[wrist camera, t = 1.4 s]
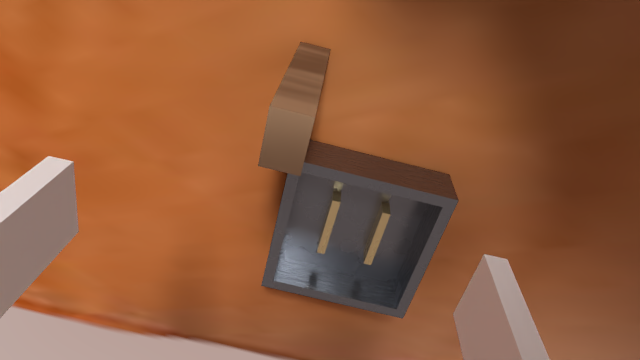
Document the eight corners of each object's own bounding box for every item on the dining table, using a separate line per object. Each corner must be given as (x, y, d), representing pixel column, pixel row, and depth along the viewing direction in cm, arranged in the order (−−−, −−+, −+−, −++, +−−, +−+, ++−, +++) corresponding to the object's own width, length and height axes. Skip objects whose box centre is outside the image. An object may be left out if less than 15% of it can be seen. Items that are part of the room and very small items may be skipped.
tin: (297, 136, 33) (290, 158, 30) (449, 174, 34) (458, 200, 31) (269, 256, 39) (261, 285, 36) (399, 287, 39) (402, 318, 36)
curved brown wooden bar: (300, 41, 30) (269, 105, 19) (330, 49, 30) (315, 117, 19) (291, 84, 31) (258, 165, 21) (319, 91, 31) (300, 176, 21)
